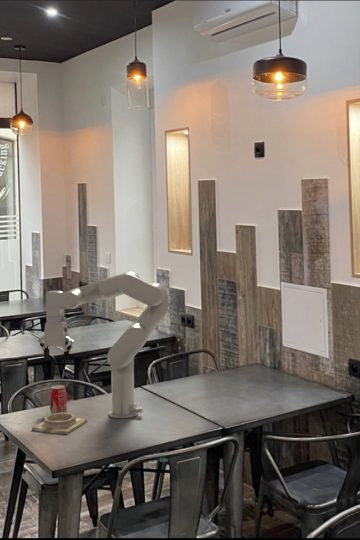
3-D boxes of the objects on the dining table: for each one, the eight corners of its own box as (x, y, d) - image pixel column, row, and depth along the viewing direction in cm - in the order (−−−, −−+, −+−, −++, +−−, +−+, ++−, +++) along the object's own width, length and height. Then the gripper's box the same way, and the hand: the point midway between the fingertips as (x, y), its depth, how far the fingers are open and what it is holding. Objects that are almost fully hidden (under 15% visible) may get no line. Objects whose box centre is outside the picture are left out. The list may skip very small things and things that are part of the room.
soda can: (51, 411, 286) (50, 384, 285) (67, 411, 286) (66, 384, 285) (49, 416, 279) (48, 389, 278) (66, 416, 279) (65, 388, 278)
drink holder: (86, 422, 271) (86, 413, 271) (67, 434, 256) (66, 425, 256) (53, 418, 277) (53, 409, 276) (32, 430, 262) (31, 421, 261)
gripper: (77, 319, 279) (78, 358, 281) (42, 317, 285) (44, 356, 287) (68, 322, 272) (69, 362, 274) (33, 320, 278) (34, 359, 280)
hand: (56, 359), depth 281 cm, fingers open, 9 cm apart
